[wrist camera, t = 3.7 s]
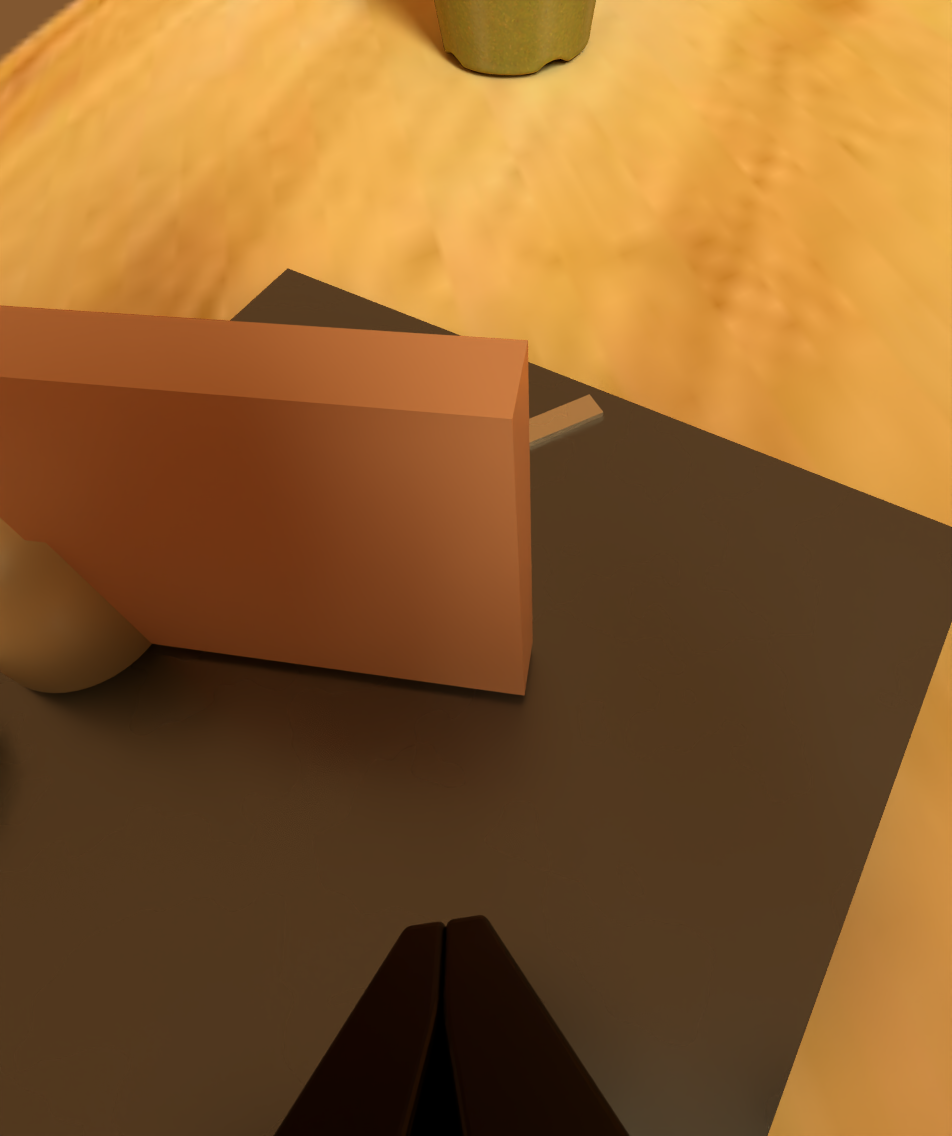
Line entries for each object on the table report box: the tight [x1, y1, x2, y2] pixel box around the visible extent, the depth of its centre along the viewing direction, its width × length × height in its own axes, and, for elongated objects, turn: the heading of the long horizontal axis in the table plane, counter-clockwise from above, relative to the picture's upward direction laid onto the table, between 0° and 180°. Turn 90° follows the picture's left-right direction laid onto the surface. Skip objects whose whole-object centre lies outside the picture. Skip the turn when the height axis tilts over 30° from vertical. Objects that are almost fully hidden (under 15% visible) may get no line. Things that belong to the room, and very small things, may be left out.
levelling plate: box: [0, 269, 952, 1136], centre depth 15 cm, size 20×20×2 cm
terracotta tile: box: [0, 306, 533, 696], centre depth 12 cm, size 12×4×8 cm, turn 80°
